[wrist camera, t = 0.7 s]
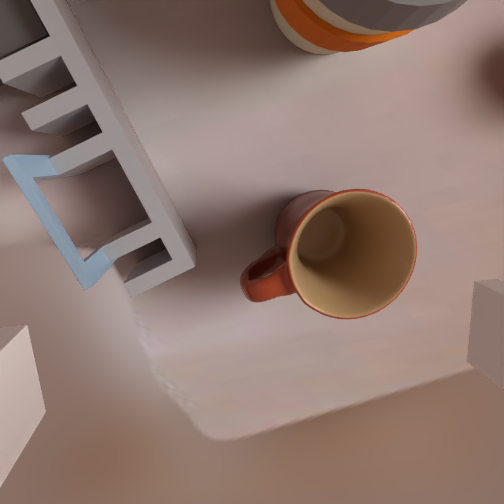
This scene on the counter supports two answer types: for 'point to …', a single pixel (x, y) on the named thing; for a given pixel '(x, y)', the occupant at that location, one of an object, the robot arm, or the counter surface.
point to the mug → (337, 254)
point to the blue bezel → (41, 168)
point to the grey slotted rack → (98, 139)
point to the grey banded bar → (19, 27)
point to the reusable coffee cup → (354, 21)
